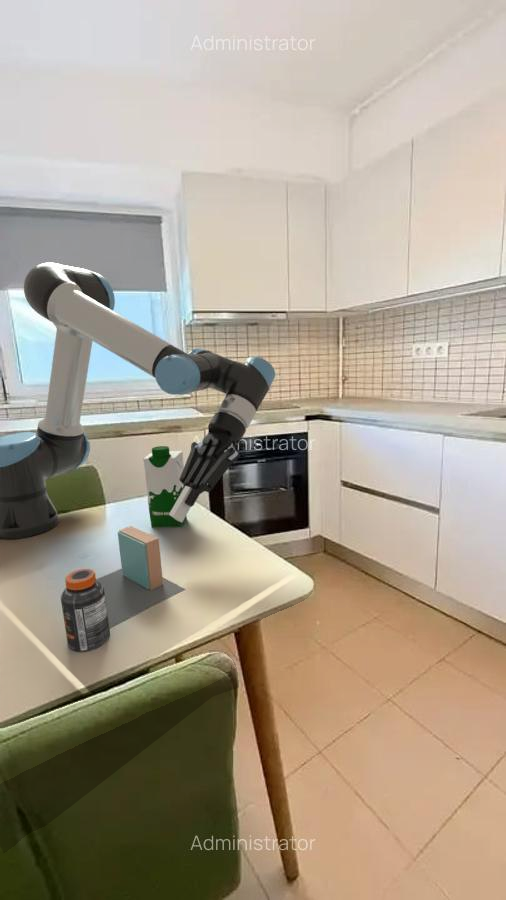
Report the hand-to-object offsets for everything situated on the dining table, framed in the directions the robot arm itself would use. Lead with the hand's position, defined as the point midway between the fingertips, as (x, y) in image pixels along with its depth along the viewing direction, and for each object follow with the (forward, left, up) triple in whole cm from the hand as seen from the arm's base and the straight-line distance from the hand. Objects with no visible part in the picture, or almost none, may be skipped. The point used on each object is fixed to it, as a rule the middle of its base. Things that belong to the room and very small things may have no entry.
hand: (175, 518), depth 86 cm
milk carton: (-20, +13, -11) cm, 26 cm away
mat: (+1, -13, -10) cm, 17 cm away
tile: (0, -8, -10) cm, 13 cm away
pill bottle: (+9, -23, -11) cm, 27 cm away
